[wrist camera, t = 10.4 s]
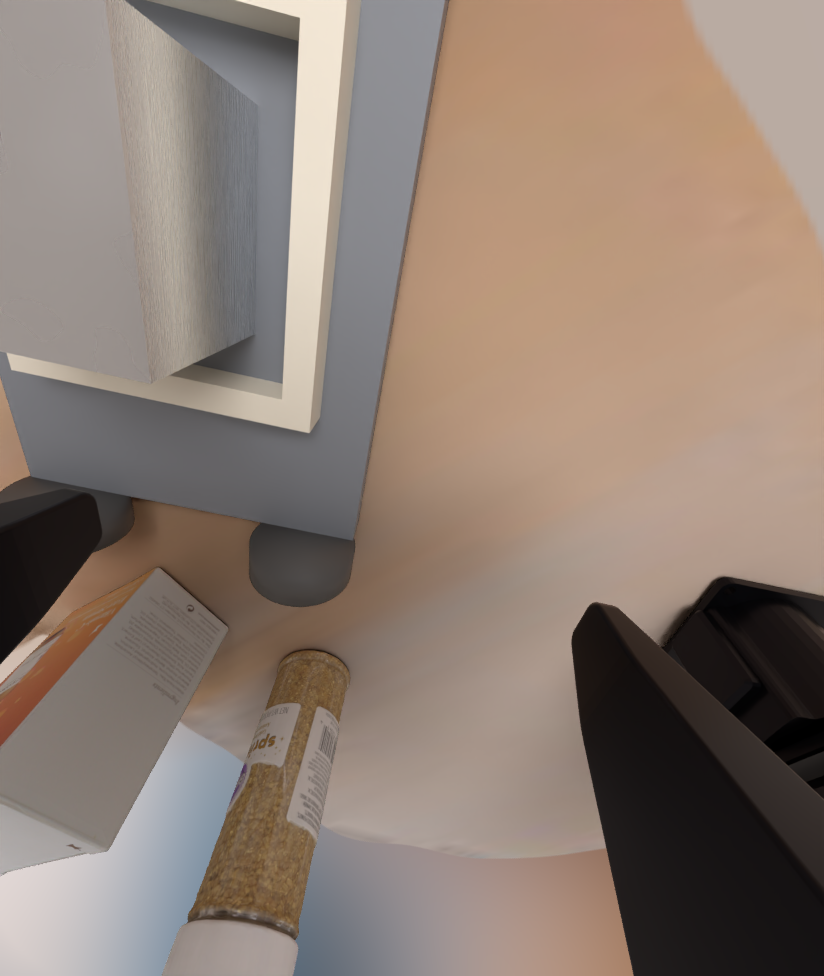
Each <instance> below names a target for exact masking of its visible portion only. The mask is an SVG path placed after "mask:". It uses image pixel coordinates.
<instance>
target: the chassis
mask: <svg viewBox="0 0 824 976" xmlns="http://www.w3.org/2000/svg"><path fill="white" fill-rule="evenodd" d="M125 1H126V2H127V3H129V4H130V5H131V6H132V7H134V8H135V9H136V10H138V11H139V12H140V13H141V14H143V15H144V16H145V17H146V18H148V19H149V20H150V21H152V22H153V23H154V24H155V25H157V26H158V27H159V28H160V29H162V30H163V31H164V32H166V33H167V34H168V35H169V36H171V37H172V38H173V39H174V40H176V41H177V42H178V43H179V44H181V45H182V46H183V47H185V48H186V49H187V50H188V51H190V52H191V53H192V54H193V55H195V56H196V57H197V58H199V59H200V60H201V61H202V62H204V63H205V64H206V65H207V66H209V67H210V68H211V69H213V70H214V71H215V72H216V73H218V74H219V75H220V76H221V77H223V78H224V79H225V80H226V81H228V82H229V83H230V84H232V85H233V86H234V87H235V88H237V89H238V90H239V91H240V92H242V93H243V94H244V95H246V96H247V97H248V98H249V99H251V100H252V101H253V102H254V103H256V104H257V105H258V180H257V256H256V333H255V334H254V335H252V336H250V337H248V338H246V339H244V340H241V341H239V342H237V343H235V344H233V345H231V346H229V347H227V348H225V349H223V350H221V351H218V352H216V353H214V354H212V355H210V356H208V357H206V358H204V359H202V360H200V361H198V362H195V363H193V364H191V365H189V366H187V367H185V368H183V369H181V370H179V371H177V372H175V373H172V374H170V375H168V376H166V377H164V378H162V379H160V380H158V381H156V382H154V383H152V384H149V383H144V382H140V381H135V380H130V379H126V378H121V377H116V376H112V375H107V374H102V373H98V372H93V371H89V370H84V369H79V368H75V367H70V366H65V365H61V364H56V363H51V362H47V361H42V360H37V359H33V358H28V357H24V356H19V355H14V354H10V353H5V352H0V377H1V380H2V384H3V387H4V390H5V393H6V397H7V400H8V403H9V407H10V410H11V413H12V416H13V420H14V423H15V426H16V429H17V433H18V436H19V439H20V442H21V446H22V449H23V452H24V455H25V459H26V462H27V465H28V468H29V472H30V475H31V476H29V477H26V478H23V479H21V480H19V481H17V482H15V483H13V484H11V485H9V486H8V487H6V488H5V489H3V490H2V491H1V492H0V503H3V502H7V501H11V500H15V499H20V498H24V497H28V496H32V495H37V494H41V493H45V492H49V491H54V490H58V489H62V488H70V489H75V490H80V491H85V492H89V493H91V494H92V495H93V496H94V497H95V498H96V501H97V506H98V510H99V515H100V520H101V525H102V531H103V532H102V538H101V540H100V542H99V544H98V546H97V547H96V548H95V550H94V551H93V552H96V551H99V550H101V549H103V548H106V547H108V546H110V545H112V544H114V543H115V542H117V541H118V540H120V539H121V538H123V537H124V536H125V535H126V534H127V533H128V532H129V531H130V529H131V528H132V526H133V524H134V520H135V517H134V510H133V505H132V499H131V497H136V498H141V499H146V500H151V501H156V502H161V503H166V504H171V505H176V506H181V507H186V508H191V509H196V510H201V511H206V512H211V513H216V514H221V515H226V516H231V517H236V518H241V519H246V520H251V521H256V522H261V524H260V525H259V526H257V527H256V529H255V530H254V531H253V533H252V535H251V538H250V544H249V575H250V580H251V583H252V584H253V586H254V588H255V589H256V590H257V591H258V592H259V593H260V594H261V595H262V596H264V597H265V598H267V599H269V600H271V601H273V602H275V603H278V604H281V605H286V606H293V607H307V606H314V605H318V604H322V603H324V602H327V601H329V600H331V599H333V598H334V597H336V596H337V595H339V594H340V593H341V592H342V591H343V590H344V588H345V587H346V586H347V584H348V582H349V579H350V574H351V569H352V563H353V557H354V552H355V540H354V535H355V532H356V528H357V525H358V521H359V515H360V509H361V504H362V498H363V492H364V486H365V481H366V475H367V469H368V463H369V458H370V452H371V446H372V440H373V435H374V429H375V423H376V417H377V412H378V406H379V400H380V394H381V389H382V383H383V377H384V371H385V366H386V360H387V354H388V348H389V343H390V337H391V331H392V325H393V320H394V314H395V308H396V302H397V297H398V291H399V285H400V279H401V274H402V268H403V262H404V256H405V251H406V245H407V239H408V233H409V228H410V222H411V216H412V210H413V205H414V199H415V193H416V187H417V182H418V176H419V170H420V164H421V159H422V153H423V147H424V141H425V135H426V130H427V124H428V118H429V112H430V107H431V101H432V95H433V89H434V84H435V78H436V72H437V66H438V61H439V55H440V49H441V43H442V38H443V32H444V26H445V20H446V15H447V9H448V3H449V0H125ZM93 552H92V553H93Z"/></svg>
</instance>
